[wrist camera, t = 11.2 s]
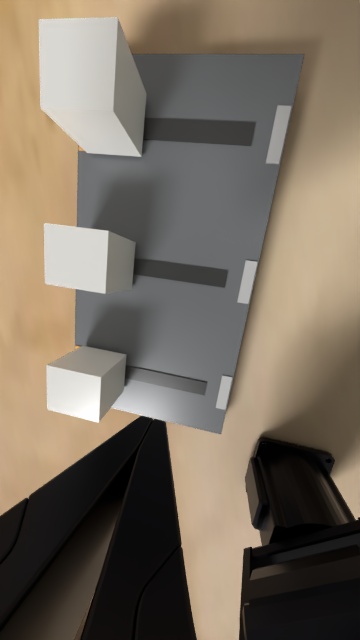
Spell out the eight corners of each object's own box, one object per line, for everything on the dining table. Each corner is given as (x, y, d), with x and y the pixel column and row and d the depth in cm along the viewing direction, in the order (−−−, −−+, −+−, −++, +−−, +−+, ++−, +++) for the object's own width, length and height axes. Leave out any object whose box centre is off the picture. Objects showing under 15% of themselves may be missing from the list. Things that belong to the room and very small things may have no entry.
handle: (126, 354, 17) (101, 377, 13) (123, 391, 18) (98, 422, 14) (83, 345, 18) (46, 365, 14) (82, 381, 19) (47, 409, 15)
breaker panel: (291, 85, 14) (305, 52, 12) (220, 418, 20) (220, 435, 18) (96, 81, 15) (78, 52, 13) (86, 387, 21) (73, 399, 19)
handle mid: (135, 242, 15) (108, 231, 11) (131, 289, 16) (105, 293, 12) (85, 236, 16) (43, 223, 12) (84, 282, 16) (44, 283, 13)
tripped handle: (146, 93, 13) (117, 17, 9) (141, 156, 14) (113, 110, 10) (88, 92, 14) (38, 19, 10) (87, 153, 14) (40, 108, 10)
